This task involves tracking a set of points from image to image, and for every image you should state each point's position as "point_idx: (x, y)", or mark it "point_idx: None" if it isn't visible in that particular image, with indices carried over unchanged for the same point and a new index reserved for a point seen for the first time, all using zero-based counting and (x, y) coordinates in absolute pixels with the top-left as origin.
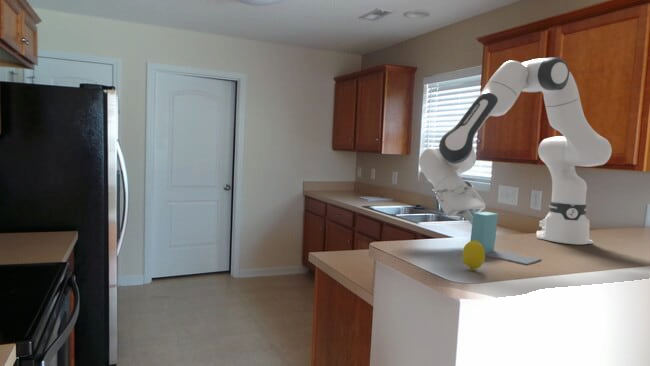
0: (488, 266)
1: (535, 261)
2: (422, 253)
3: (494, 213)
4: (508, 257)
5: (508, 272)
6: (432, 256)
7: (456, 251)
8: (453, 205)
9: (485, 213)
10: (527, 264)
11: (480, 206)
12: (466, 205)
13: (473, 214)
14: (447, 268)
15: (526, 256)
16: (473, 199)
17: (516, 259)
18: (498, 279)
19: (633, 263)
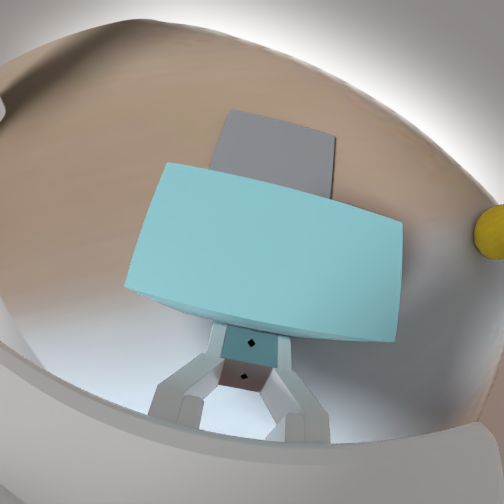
0: (429, 220)
1: (273, 119)
2: (429, 415)
3: (176, 190)
4: (297, 184)
5: (432, 174)
6: (443, 377)
7: (330, 373)
8: (492, 449)
9: (286, 255)
10: (328, 135)
11: (28, 371)
12: (329, 481)
13: (386, 340)
14: (492, 289)
15: (224, 142)
16: (17, 477)
17: (305, 161)
18: (476, 189)
19: (116, 27)
